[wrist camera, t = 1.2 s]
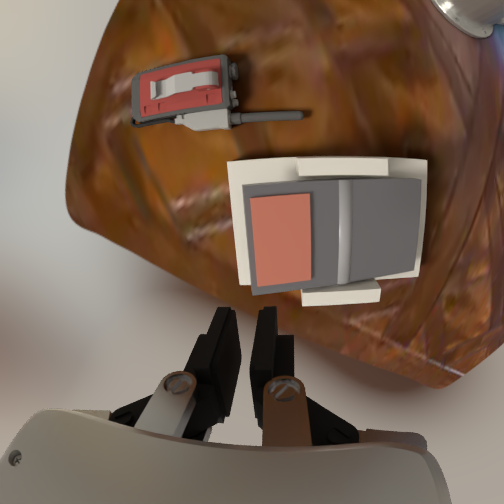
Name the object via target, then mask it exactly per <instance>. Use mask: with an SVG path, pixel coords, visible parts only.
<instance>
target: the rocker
mask: <svg viewBox="0 0 504 504" xmlns="http://www.w3.org/2000/svg"><path fill="white" fill-rule="evenodd" d="M421 183H422V180H421V179H416V178H332V179H310V180H293V181H278V182H265V183H253V184H243V185H242V193H243V204H244V215H245V226H246V237H247V248H248V259H249V270H250V280H251V289H252V294H253V295H261V294H269V293H276V292H284V291H292V290H299V289H306V288H313V287H320V286H327V285H333V284H346V283H349V282H352V281H358V280H364V279H370V278H376V277H382V276H387V275H393V274H398V273H404V272H409V271H414V267H415V260H416V252H417V244H418V234H419V223H420V209H421Z"/></svg>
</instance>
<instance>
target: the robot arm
mask: <svg viewBox="0 0 504 504" xmlns="http://www.w3.org/2000/svg"><path fill="white" fill-rule="evenodd" d="M431 1H432V3H433V4H434V5H435V7H436V8H437V9H438V10H439V12H440V13H441V14H442V15H443V16H444V17H445V18H446V19H447V20H448V21H449V22H450V23H451V24H453V25H454V26H455V27H457V28H458V29H459V30H461V31H462V32H464V33H465V34H467V35H469V36H472V37H475V38H481V39H482V38H486V37H488V36H490V35H491V34H492V31H493V25H494V24H498V25H501V24H502V25H503V26H504V0H431ZM240 365H241V348H240V341H239V335H238V327H237V319H236V312H235V310H231V307H218V308H217V310H216V312H215V315H214V317H213V320H212V322H211V325H210V327H209V329H208V332H207V334H200V335H199V337H198V339H197V341H196V344H195V346H194V348H193V350H192V353H191V355H190V357H189V360H188V362H187V364H186V366H185V369H184V371H177V372H173V373H171V374H168V375H167V376H165V377H164V378H163V379H162V380H161V382H160V384H159V385H158V387H157V389H156V390H155V392H154V394H152V395H150V396H148V397H145V398H143V399H140V400H138V401H136V402H133V403H131V404H129V405H126V406H124V407H121V408H119V409H117V410H115V411H114V412H113V413H111V411H97V410H95V411H94V410H67V409H44V410H41V411H38V412H37V413H35V414H34V415H33V416H32V417H31V418H30V419H29V420H28V421H27V422H26V423H25V424H24V426H23V427H22V428H21V429H20V431H19V432H18V433H17V435H16V437H15V438H14V439H13V441H12V442H11V444H10V445H9V447H8V448H7V450H6V451H5V453H4V455H3V456H2V458H1V460H0V504H452V503H451V499H450V494H449V491H448V487H447V483H446V481H445V478H444V475H443V472H442V470H441V468H440V466H439V464H438V462H437V460H436V459H435V457H434V456H433V455H432V454H431V453H430V452H429V451H427V442H426V440H425V438H424V437H423V436H422V435H420V434H418V433H413V432H396V431H395V432H394V431H383V430H373V429H366V431H360V430H357V429H356V428H355V427H354V426H353V425H351V424H350V423H348V422H346V421H345V420H343V419H342V418H340V417H338V416H337V415H335V414H333V413H332V412H330V411H329V410H327V409H325V408H324V407H322V406H321V405H319V404H318V403H316V402H315V401H313V400H312V399H310V398H309V397H307V396H306V392H305V387H304V384H303V383H302V382H301V381H300V380H299V379H297V378H295V377H294V335H278V328H277V307H276V306H272V307H264V310H259V314H258V320H257V326H256V332H255V339H254V344H253V350H252V356H251V361H250V381H251V389H252V396H253V404H254V411H255V418H257V419H258V426H259V427H260V428H261V429H262V430H263V435H262V446H247V445H233V444H222V443H213V442H208V440H209V437H210V434H211V431H212V426H213V425H215V424H217V423H224V419H225V417H229V415H230V411H231V406H232V402H233V397H234V393H235V388H236V384H237V379H238V374H239V369H240Z"/></svg>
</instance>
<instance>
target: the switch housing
mask: <svg viewBox="0 0 504 504" xmlns="http://www.w3.org/2000/svg"><path fill="white" fill-rule="evenodd" d="M227 166H228V177H229V187H230V197H231V207H232V217H233V227H234V237H235V246H236V255H237V264H238V274H239V283H240V285H251V280H250V270H249V259H248V248H247V237H246V226H245V215H244V204H243V193H242V185H243V184H253V183H265V182H278V181H293V180H310V179H332V178H416V179H421V180H422V183H421V209H420V223H419V234H418V244H417V252H416V260H415V267H414V271H409V272H404V273H398V274H393V275H387V276H382V277H376V278H370V279H364V280H358V281H352V282H349V283H346V284H333V285H327V286H320V287H313V288H306V289H301V296H302V306H319V305H338V304H354V303H369V302H379V299H380V292H381V288H380V286H379V285H378V283H377V281H376V279H391V278H405V277H418V274H419V268H420V261H421V254H422V246H423V237H424V227H425V215H426V197H427V160H421V159H411V158H395V157H373V156H303V157H279V158H263V159H249V160H237V161H229V162H227Z"/></svg>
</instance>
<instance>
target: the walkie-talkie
mask: <svg viewBox="0 0 504 504" xmlns="http://www.w3.org/2000/svg"><path fill="white" fill-rule="evenodd" d="M232 79H233V80H237V79H238V67H237V64H236V63H231V61H230V60H229V58H228V57H227V56H225V55H216V56H209V57H203V58H198V59H192V60H187V61H184V62H180V63H175V64H171V65H166V66H162V67H158V68H154V69H150V70H148V71H147V70H146V71H144V72H143V71H142V72H141V73H137V74H136V75H135V76H134V77H133V79H132V116H133V117H132V118H131V122H130V123H131V125H132V126H133V127H137V128H140V127H144V126H149V125H154V124H159V123H165V122H171V123H175V124H177V125H181V124H184V125H185V126H187V127H189V128H190V129H192V130H194V131H206V130H215V129H225V130H228V129H232V127H231V125H234V124H242V122H257V121H280V120H302V119H303V118H304V113H303V112H301V111H278V112H259V113H245V114H241V113H240V112H239V113H231V110H232V109H233V108H234V107H235V106H238V99H234V98H236V91H233V86H232ZM173 118H176V119H175V120H172V119H173ZM135 120H137V121H138V122H140V123H142V124H135Z"/></svg>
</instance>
